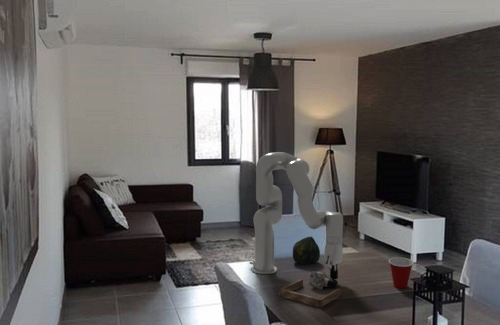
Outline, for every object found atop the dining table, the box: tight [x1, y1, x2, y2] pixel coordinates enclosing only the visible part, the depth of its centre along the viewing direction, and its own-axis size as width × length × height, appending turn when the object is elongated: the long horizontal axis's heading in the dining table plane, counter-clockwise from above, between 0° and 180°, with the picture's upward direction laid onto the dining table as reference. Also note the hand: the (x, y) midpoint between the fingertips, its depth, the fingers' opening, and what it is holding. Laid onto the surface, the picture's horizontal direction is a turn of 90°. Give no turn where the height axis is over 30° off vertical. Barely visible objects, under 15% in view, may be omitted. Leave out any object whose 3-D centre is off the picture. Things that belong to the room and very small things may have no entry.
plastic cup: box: [388, 256, 415, 289], centre depth 209 cm, size 11×11×12 cm
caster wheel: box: [308, 270, 339, 291], centre depth 209 cm, size 7×11×10 cm
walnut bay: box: [278, 278, 342, 308], centre depth 198 cm, size 20×17×3 cm
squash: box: [292, 236, 321, 265], centre depth 246 cm, size 14×15×15 cm
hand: (333, 278), depth 214 cm, fingers closed
